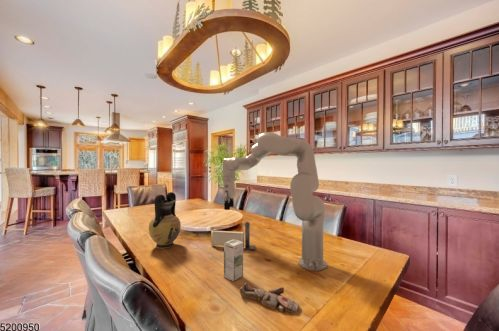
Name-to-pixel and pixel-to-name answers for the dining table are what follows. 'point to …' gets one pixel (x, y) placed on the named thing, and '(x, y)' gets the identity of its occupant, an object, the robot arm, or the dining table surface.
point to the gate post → (248, 238)
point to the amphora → (164, 221)
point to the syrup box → (233, 259)
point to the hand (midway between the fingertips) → (229, 208)
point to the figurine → (271, 298)
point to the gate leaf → (226, 237)
